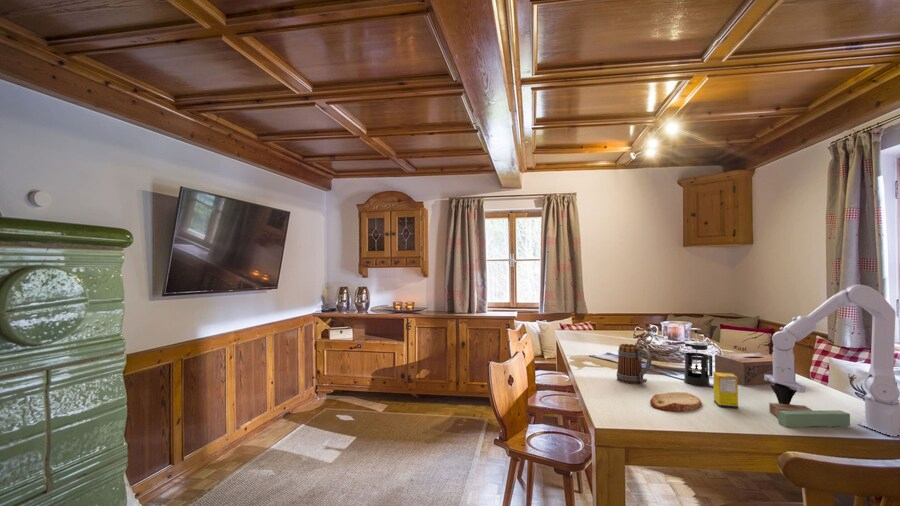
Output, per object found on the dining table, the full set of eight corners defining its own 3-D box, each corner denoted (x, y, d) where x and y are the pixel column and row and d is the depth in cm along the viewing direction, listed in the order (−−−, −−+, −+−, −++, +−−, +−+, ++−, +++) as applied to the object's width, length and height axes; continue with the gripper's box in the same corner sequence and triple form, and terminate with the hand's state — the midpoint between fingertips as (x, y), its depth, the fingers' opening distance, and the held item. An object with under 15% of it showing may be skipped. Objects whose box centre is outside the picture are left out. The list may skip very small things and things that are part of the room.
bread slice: (697, 399, 154) (696, 389, 154) (712, 416, 136) (712, 405, 136) (644, 394, 159) (644, 385, 159) (652, 410, 142) (652, 399, 142)
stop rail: (850, 426, 127) (849, 413, 127) (786, 427, 127) (786, 414, 127) (840, 423, 130) (840, 410, 130) (778, 423, 130) (778, 410, 130)
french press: (691, 386, 169) (690, 330, 169) (677, 380, 178) (677, 326, 179) (719, 386, 169) (718, 330, 170) (704, 379, 179) (703, 326, 179)
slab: (815, 422, 131) (815, 411, 131) (778, 419, 134) (777, 408, 134) (805, 416, 137) (804, 405, 137) (769, 413, 139) (769, 402, 139)
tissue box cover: (763, 374, 189) (763, 352, 189) (795, 383, 174) (795, 360, 175) (715, 377, 184) (714, 354, 184) (743, 386, 170) (743, 362, 170)
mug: (611, 378, 180) (610, 344, 180) (628, 376, 184) (628, 342, 185) (641, 388, 166) (640, 351, 166) (659, 385, 170) (659, 349, 171)
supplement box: (732, 403, 148) (731, 372, 149) (738, 408, 143) (738, 377, 143) (713, 401, 150) (712, 371, 150) (718, 407, 144) (718, 375, 145)
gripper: (755, 362, 147) (756, 400, 147) (789, 372, 132) (790, 415, 132) (775, 362, 147) (775, 400, 147) (811, 372, 133) (812, 415, 132)
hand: (784, 407), depth 139 cm, fingers closed
